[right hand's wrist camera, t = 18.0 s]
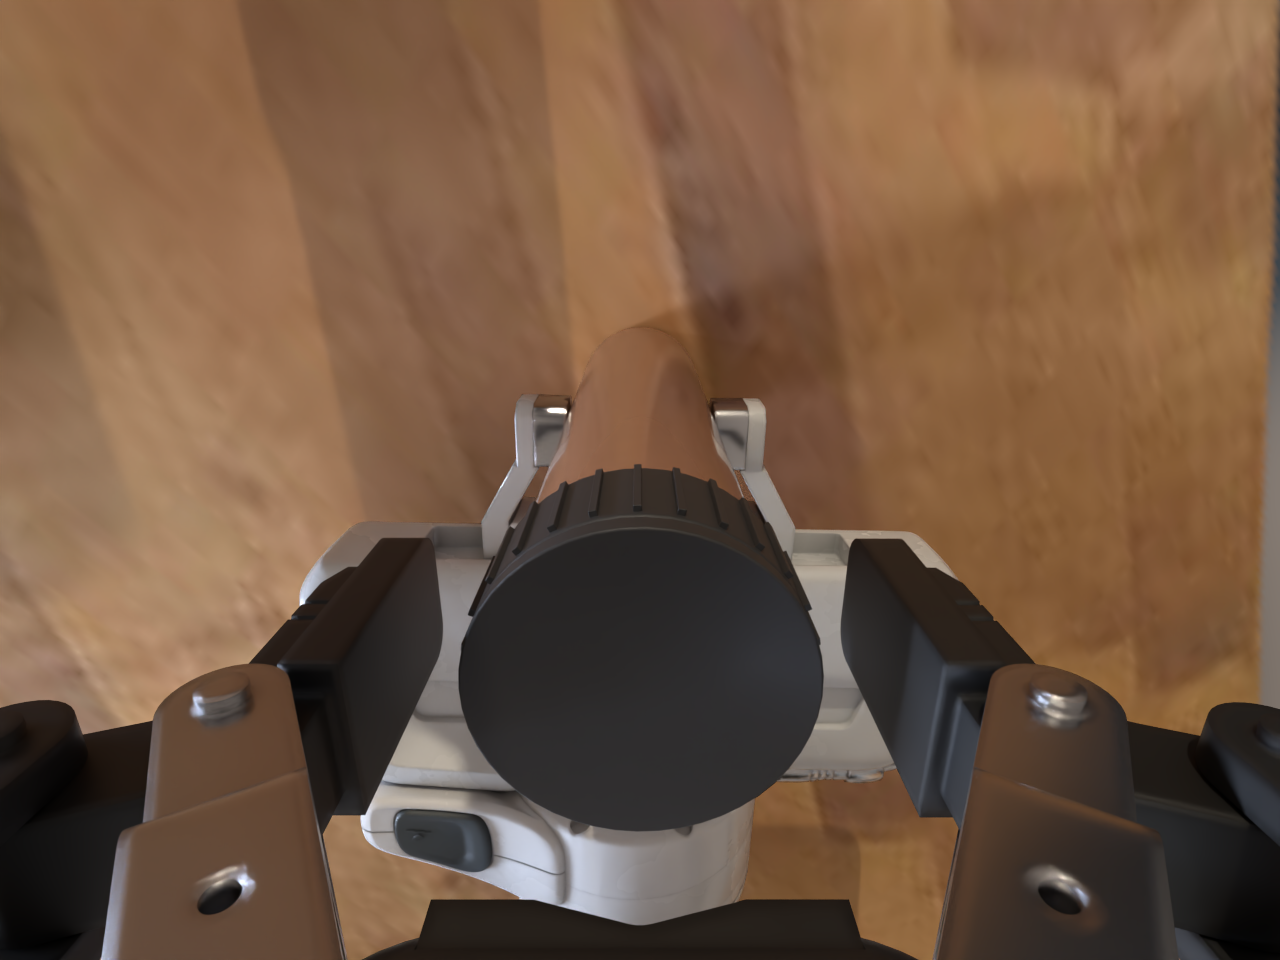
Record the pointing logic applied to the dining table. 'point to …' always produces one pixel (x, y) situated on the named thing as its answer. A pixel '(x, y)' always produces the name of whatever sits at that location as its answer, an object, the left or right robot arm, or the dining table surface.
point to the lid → (640, 653)
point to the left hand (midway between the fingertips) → (639, 399)
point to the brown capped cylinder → (640, 415)
